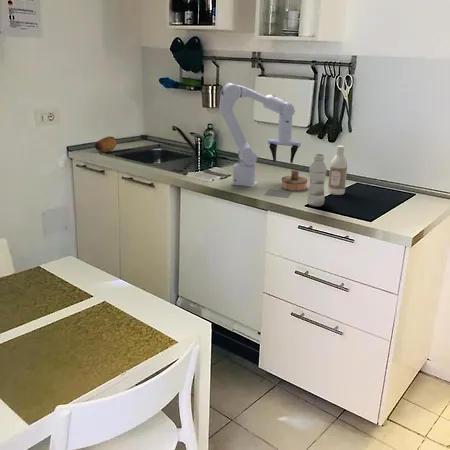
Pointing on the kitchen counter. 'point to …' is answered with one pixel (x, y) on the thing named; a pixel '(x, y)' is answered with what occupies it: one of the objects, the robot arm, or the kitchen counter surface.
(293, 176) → the lid
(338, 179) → the bath foam
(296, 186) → the bowl
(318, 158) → the plastic bottle
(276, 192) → the mat
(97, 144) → the potato
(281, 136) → the robot arm
